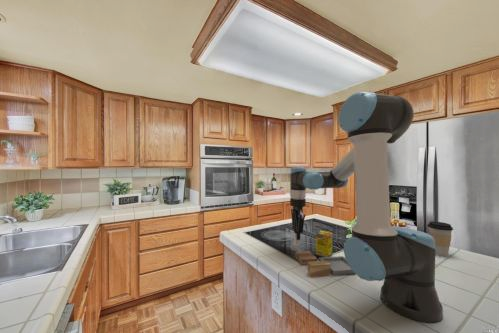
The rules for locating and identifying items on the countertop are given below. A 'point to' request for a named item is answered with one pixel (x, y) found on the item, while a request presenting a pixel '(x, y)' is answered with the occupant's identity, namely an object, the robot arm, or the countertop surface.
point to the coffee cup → (441, 237)
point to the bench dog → (319, 268)
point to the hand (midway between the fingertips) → (297, 245)
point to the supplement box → (324, 244)
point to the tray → (338, 265)
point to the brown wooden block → (305, 257)
